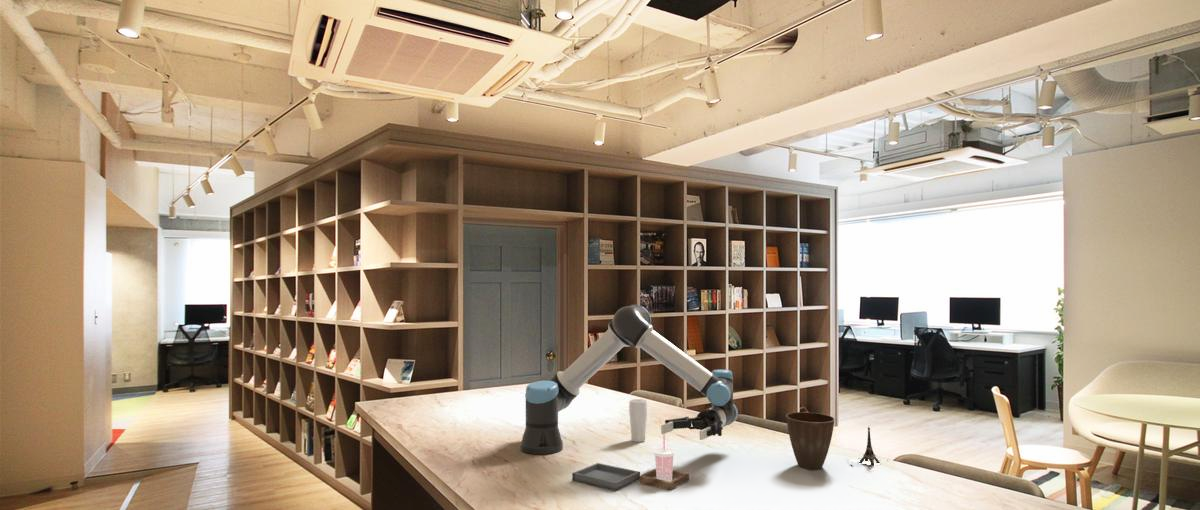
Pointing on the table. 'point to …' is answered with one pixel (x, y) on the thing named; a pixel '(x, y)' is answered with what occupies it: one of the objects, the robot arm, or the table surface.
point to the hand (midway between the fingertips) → (680, 432)
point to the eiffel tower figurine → (869, 452)
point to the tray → (606, 476)
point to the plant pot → (810, 437)
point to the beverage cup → (664, 463)
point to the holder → (650, 480)
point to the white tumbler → (638, 419)
